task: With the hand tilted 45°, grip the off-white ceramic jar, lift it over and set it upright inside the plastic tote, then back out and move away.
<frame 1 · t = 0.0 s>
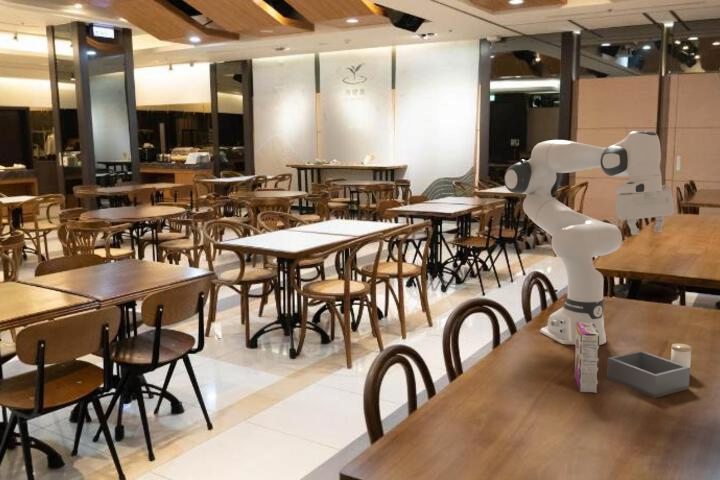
hand: (646, 233, 191), 39 cm above the table, tool pointing down, fingers open, 8 cm apart
tote: (646, 383, 178), on the table
candy bar box: (585, 386, 178), on the table
jar: (679, 373, 186), on the table
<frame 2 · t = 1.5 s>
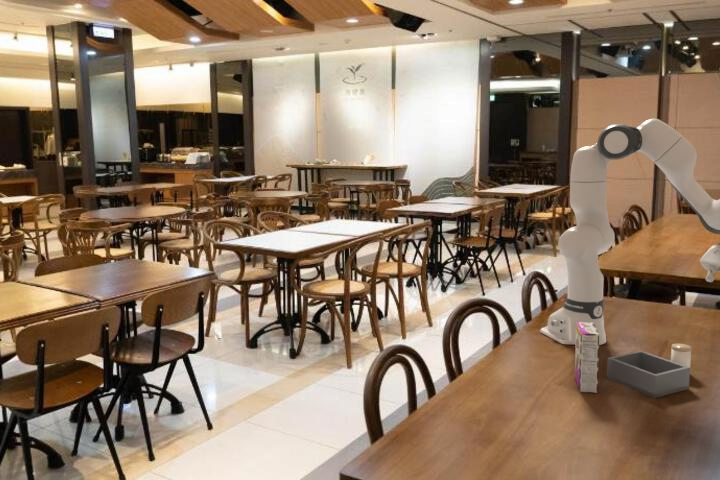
nothing on the table moved.
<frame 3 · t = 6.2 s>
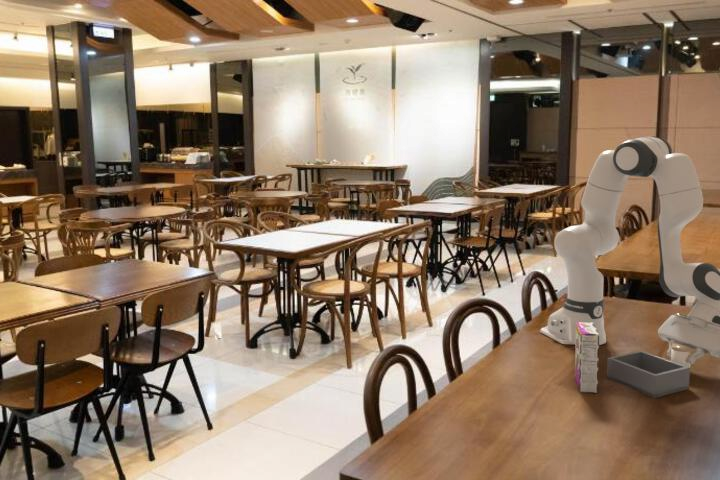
hand: (679, 358, 185), 4 cm above the table, tool tilted 45°, fingers closed on jar, 5 cm apart
jar: (679, 373, 186), on the table, touching gripper
everything else where it was.
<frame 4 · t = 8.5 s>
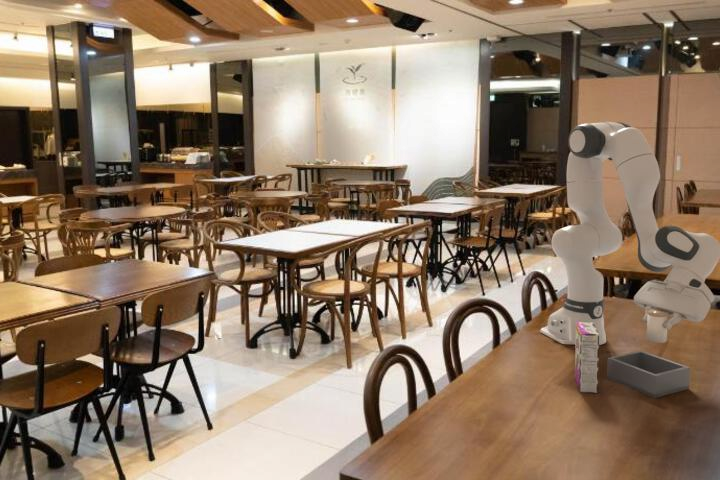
hand: (655, 324, 177), 16 cm above the table, tool tilted 45°, fingers closed on jar, 5 cm apart
jar: (656, 339, 178), point 12 cm above the table, touching gripper
everything else where it was.
when the fingers open (7 cm above the table, at t = 11.0 s): jar drops 1 cm, resting on tote.
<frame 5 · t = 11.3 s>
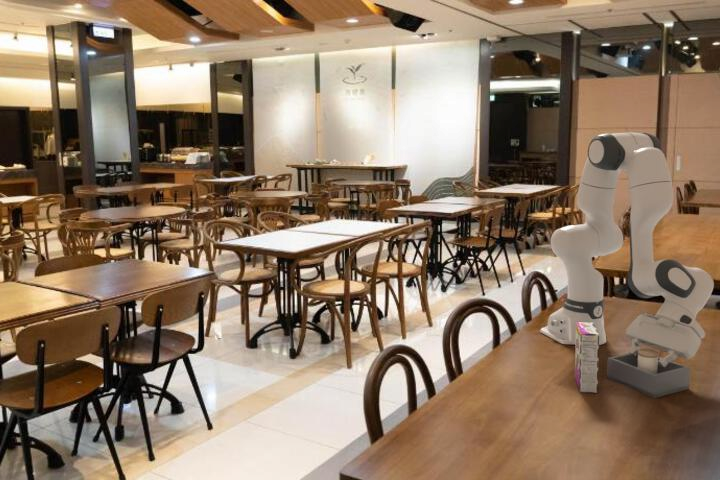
hand: (646, 359, 177), 7 cm above the table, tool tilted 45°, fingers open, 8 cm apart
jar: (646, 379, 178), point 1 cm above the table, touching tote
everything else where it was.
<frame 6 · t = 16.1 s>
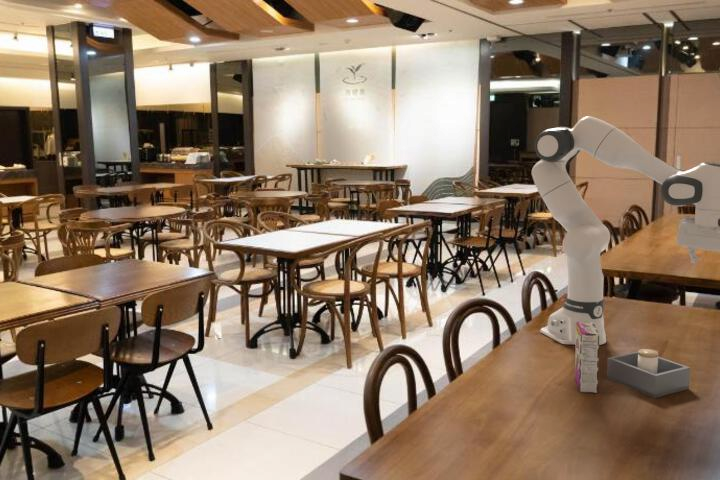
hand: (708, 265, 191), 29 cm above the table, tool pointing down, fingers open, 8 cm apart
nothing on the table moved.
at the end: jar inside the target area on the tote (0.1 cm from its centre), point 1.0 cm above the tote's base; jar tilted 0°; the gripper is holding nothing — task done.
